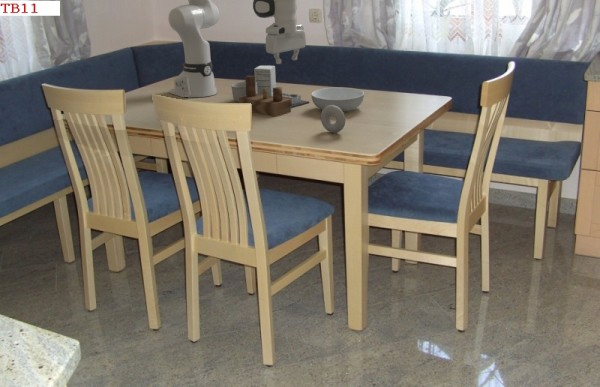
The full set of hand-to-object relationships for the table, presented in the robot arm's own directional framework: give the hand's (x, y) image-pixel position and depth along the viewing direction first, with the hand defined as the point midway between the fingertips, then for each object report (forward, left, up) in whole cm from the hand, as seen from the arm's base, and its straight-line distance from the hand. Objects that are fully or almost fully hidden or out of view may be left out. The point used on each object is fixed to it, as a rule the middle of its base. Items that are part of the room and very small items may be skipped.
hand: (286, 61), depth 300 cm
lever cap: (0, 0, -17) cm, 17 cm away
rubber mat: (0, 0, -17) cm, 17 cm away
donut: (+43, -23, -18) cm, 52 cm away
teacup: (-18, -7, -18) cm, 26 cm away
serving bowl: (+23, +4, -18) cm, 29 cm away
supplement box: (-18, +5, -18) cm, 26 cm away
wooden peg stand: (0, -14, -17) cm, 22 cm away
